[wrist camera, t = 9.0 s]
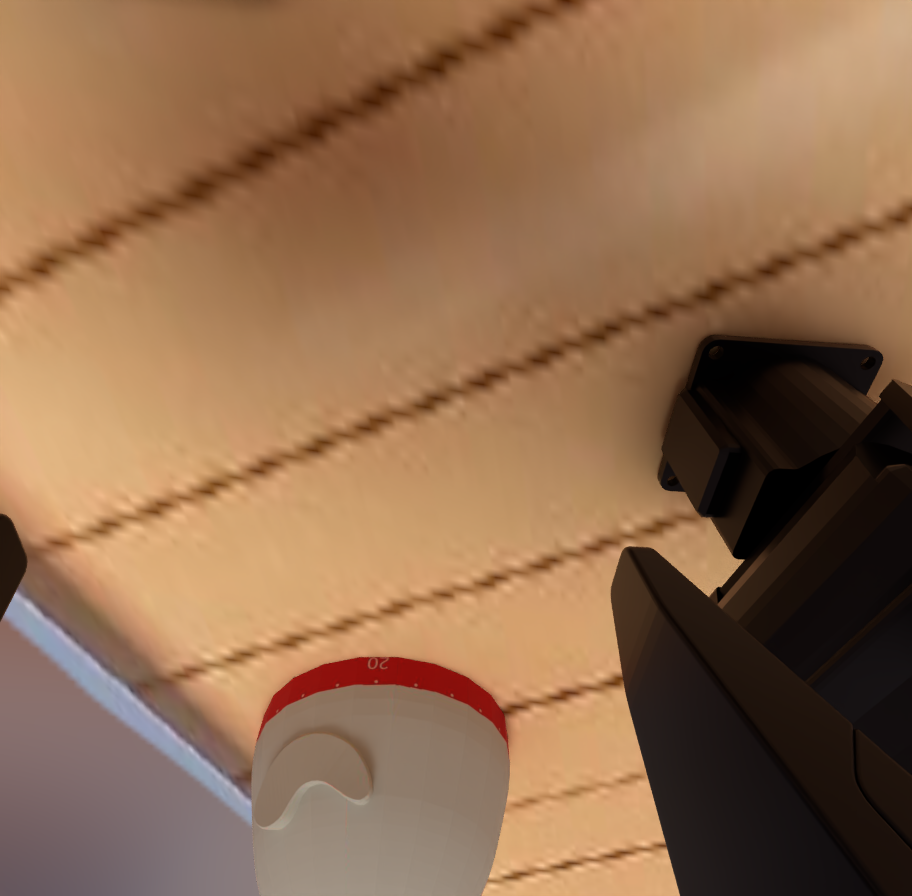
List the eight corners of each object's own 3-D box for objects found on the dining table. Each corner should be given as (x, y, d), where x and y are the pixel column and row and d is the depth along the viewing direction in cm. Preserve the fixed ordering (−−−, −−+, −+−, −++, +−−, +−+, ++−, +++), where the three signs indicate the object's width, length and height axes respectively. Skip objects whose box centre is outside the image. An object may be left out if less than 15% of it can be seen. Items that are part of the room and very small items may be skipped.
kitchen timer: (213, 698, 32) (56, 1110, 19) (444, 625, 29) (440, 1055, 16) (343, 816, 39) (290, 1178, 26) (540, 767, 36) (590, 1147, 23)
